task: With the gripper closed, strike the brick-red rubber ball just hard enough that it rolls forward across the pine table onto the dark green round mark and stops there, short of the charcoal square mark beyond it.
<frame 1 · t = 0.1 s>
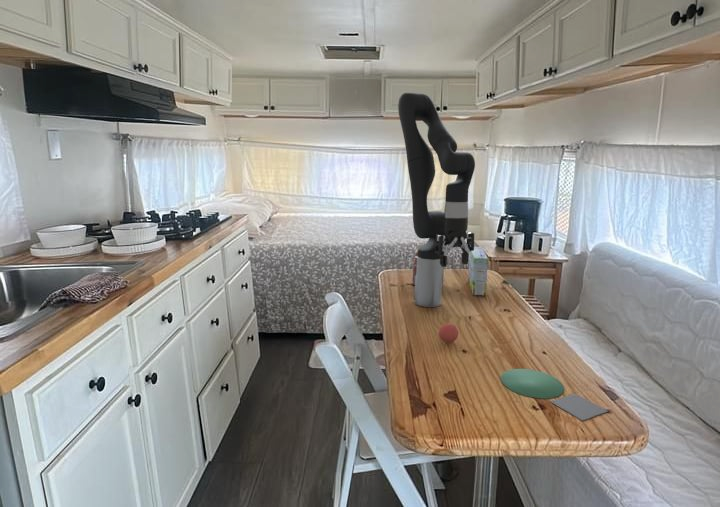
hand: (454, 265, 149), 17 cm above the table, tool pointing down, fingers open, 8 cm apart
snack box: (476, 288, 185), on the table
ball: (448, 332, 131), on the table
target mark: (531, 383, 108), on the table
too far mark: (578, 406, 98), on the table
canister: (427, 285, 189), on the table
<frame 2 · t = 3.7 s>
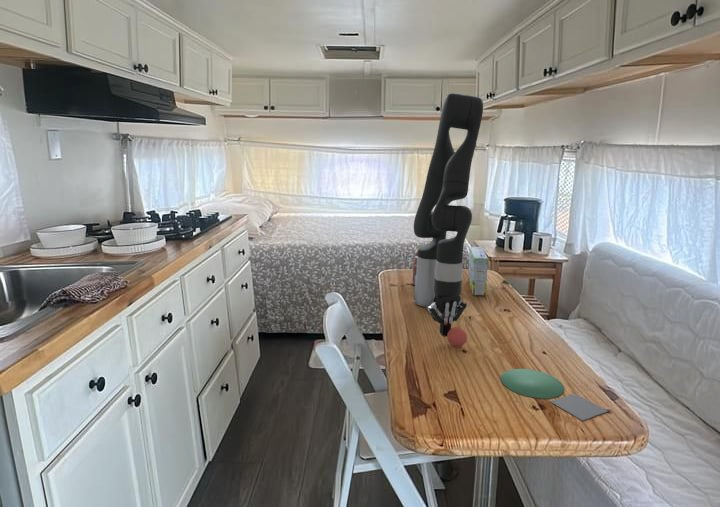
hand: (444, 335, 131), 2 cm above the table, tool pointing down, fingers closed
ball: (456, 336, 128), on the table, touching gripper
everything else where it was.
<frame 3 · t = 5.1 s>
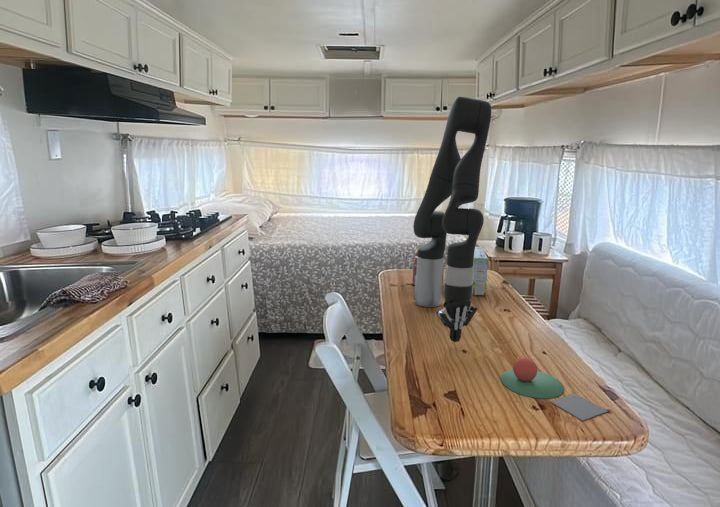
hand: (454, 340, 128), 2 cm above the table, tool pointing down, fingers closed
ball: (525, 369, 109), on the table
everything else where it was.
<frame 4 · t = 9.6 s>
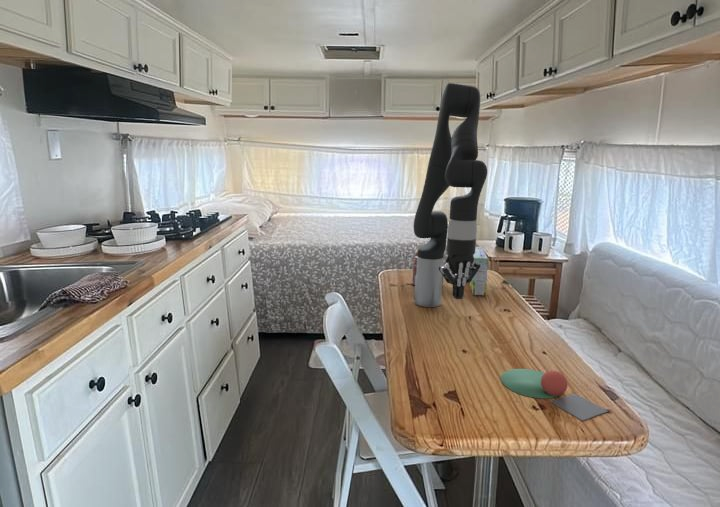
hand: (457, 298, 126), 14 cm above the table, tool pointing down, fingers closed
ball: (554, 383, 103), on the table
everything else where it was.
at the end: ball 5.8 cm from the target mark (horizontally); ball at rest at the end (0.0 cm/s); ball moved 34.0 cm from its start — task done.
